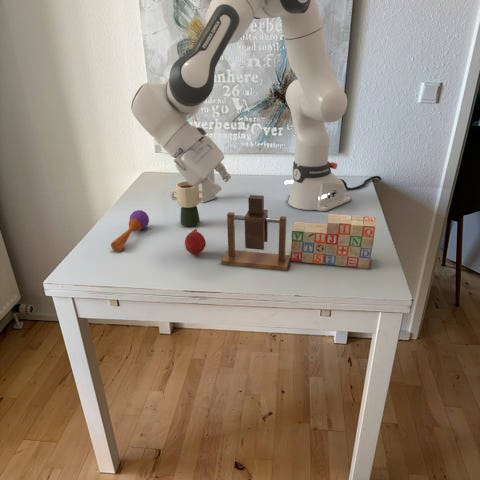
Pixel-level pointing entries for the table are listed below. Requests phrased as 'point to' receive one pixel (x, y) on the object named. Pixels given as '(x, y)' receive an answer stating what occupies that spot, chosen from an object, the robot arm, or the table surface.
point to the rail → (256, 258)
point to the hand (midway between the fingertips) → (224, 185)
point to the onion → (195, 242)
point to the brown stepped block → (256, 223)
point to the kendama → (131, 228)
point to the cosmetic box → (207, 190)
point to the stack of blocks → (334, 241)
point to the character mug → (188, 202)
